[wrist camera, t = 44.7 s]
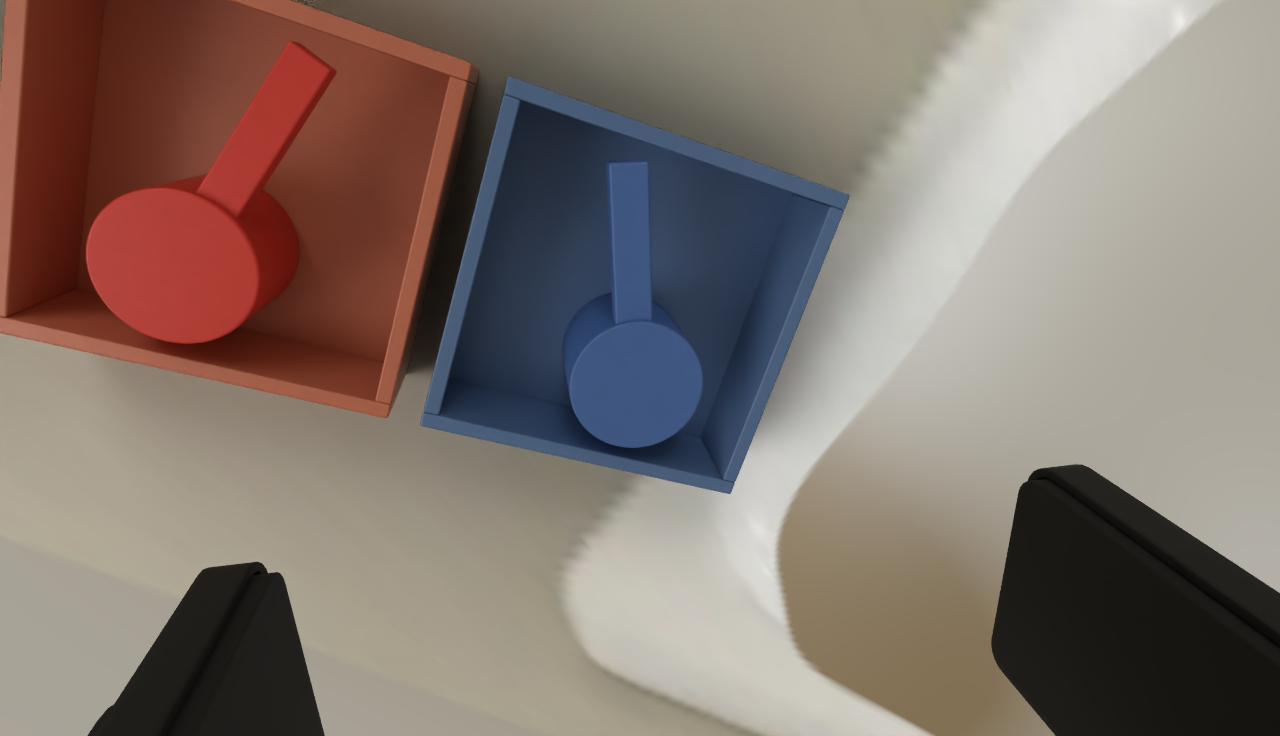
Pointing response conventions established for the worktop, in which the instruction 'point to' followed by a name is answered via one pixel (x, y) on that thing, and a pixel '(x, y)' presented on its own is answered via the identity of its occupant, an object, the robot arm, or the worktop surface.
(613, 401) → the blue scoop
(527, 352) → the blue bin
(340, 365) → the red bin
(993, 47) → the worktop surface
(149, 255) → the red scoop
